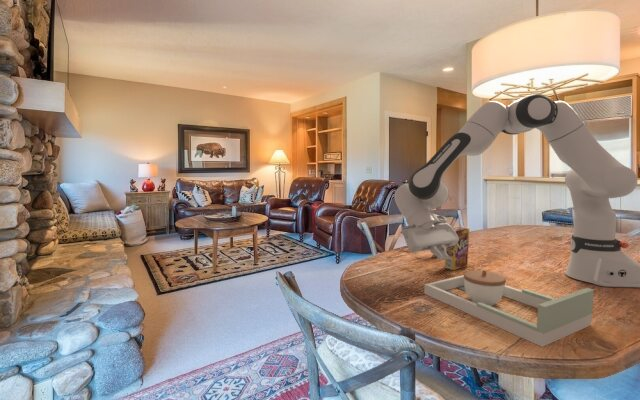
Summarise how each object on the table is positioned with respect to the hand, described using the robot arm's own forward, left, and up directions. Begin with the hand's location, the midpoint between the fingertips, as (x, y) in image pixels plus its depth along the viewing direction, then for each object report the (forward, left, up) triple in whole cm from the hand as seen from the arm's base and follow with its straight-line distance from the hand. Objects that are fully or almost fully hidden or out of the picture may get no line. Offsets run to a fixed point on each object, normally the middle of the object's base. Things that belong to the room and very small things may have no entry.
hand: (444, 258), depth 107 cm
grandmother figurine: (0, -35, -9) cm, 36 cm away
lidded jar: (-10, +10, -9) cm, 17 cm away
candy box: (-6, -22, -9) cm, 25 cm away
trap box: (-13, +13, -9) cm, 20 cm away
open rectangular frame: (-20, +20, -6) cm, 29 cm away
